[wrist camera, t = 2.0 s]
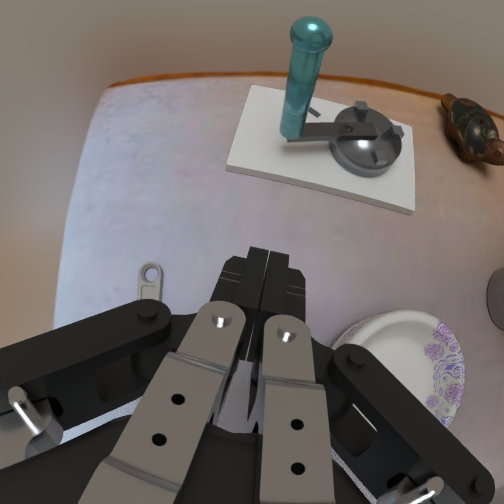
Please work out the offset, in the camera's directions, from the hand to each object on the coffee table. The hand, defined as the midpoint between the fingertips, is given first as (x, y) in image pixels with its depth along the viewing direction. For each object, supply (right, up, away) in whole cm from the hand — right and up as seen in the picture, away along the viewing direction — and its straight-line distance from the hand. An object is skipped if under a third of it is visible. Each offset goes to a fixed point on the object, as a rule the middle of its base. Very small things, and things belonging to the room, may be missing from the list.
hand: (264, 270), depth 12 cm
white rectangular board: (+10, +15, +27) cm, 32 cm away
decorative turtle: (+34, +19, +29) cm, 49 cm away
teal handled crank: (+10, +14, +25) cm, 30 cm away
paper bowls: (+13, -14, +19) cm, 27 cm away
